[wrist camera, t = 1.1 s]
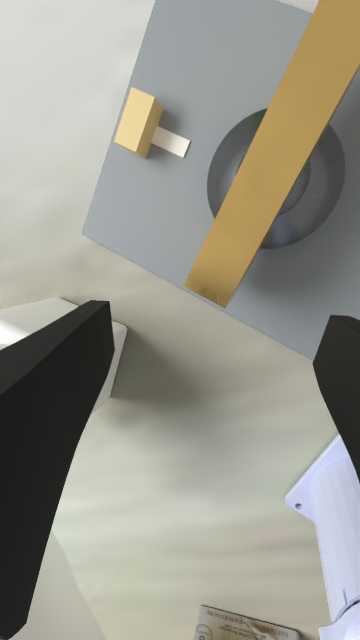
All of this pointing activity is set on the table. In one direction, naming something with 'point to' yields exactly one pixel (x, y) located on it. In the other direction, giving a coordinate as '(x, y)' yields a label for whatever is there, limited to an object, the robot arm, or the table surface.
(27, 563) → the robot arm
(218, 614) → the coffee box
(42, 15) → the table surface
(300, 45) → the long golden bar
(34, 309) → the medicine bottle
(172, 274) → the base
